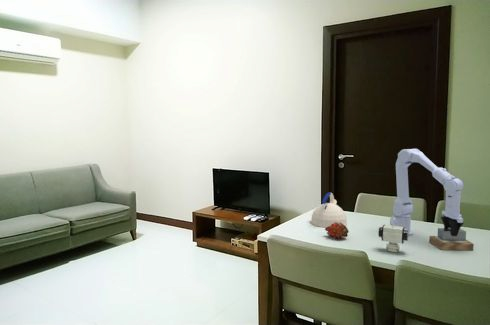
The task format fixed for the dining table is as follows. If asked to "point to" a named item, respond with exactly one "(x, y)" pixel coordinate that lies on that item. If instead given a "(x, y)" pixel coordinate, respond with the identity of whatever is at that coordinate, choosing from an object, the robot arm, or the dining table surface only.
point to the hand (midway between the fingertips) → (451, 234)
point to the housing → (446, 235)
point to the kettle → (328, 213)
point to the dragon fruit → (337, 230)
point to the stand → (451, 244)
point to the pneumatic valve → (393, 236)
